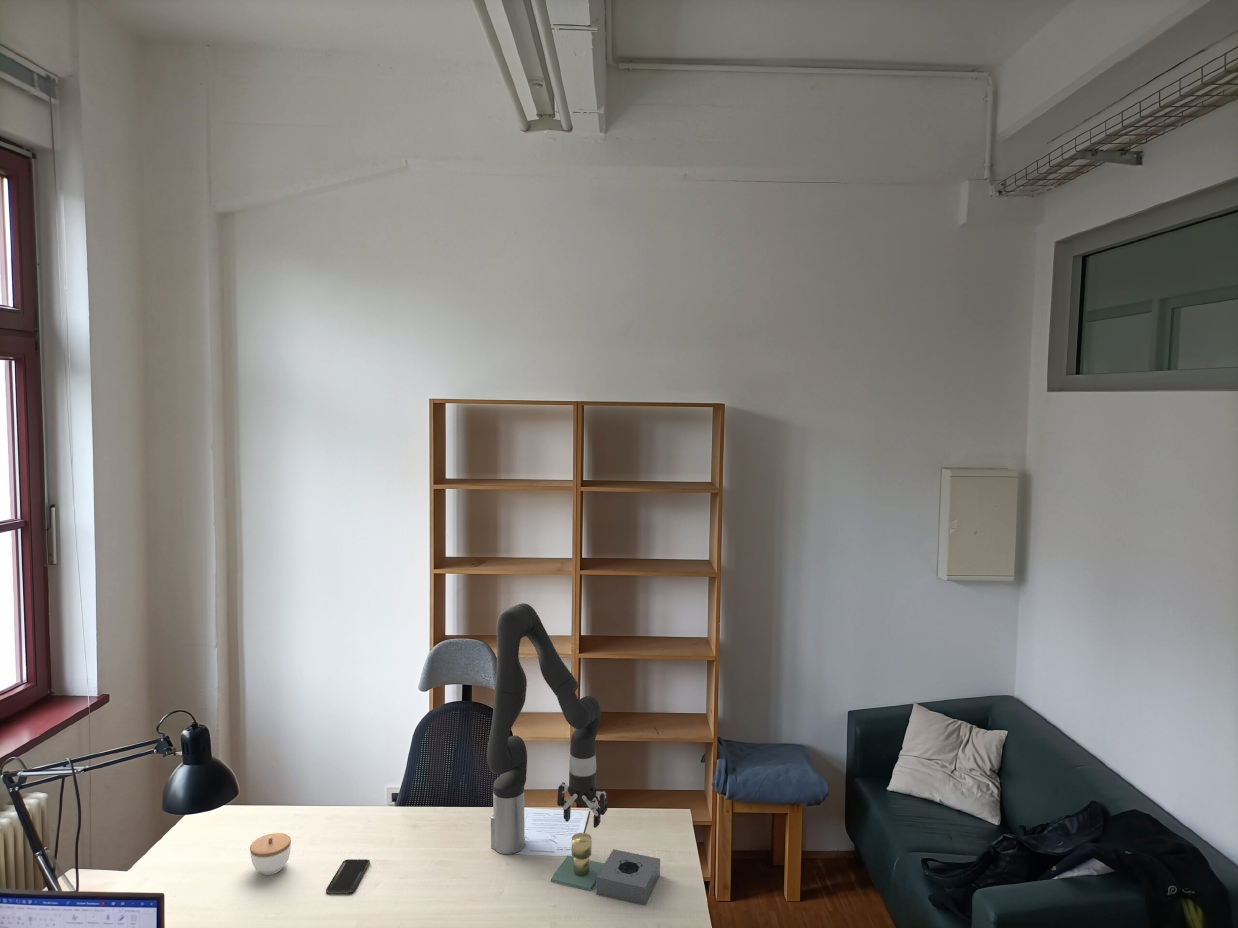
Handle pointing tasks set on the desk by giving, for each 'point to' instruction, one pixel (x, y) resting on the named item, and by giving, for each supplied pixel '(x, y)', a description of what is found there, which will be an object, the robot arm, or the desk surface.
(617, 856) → the block
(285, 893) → the desk surface
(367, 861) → the phone
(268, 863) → the lidded jar
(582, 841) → the end cover
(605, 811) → the robot arm
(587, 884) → the mat
